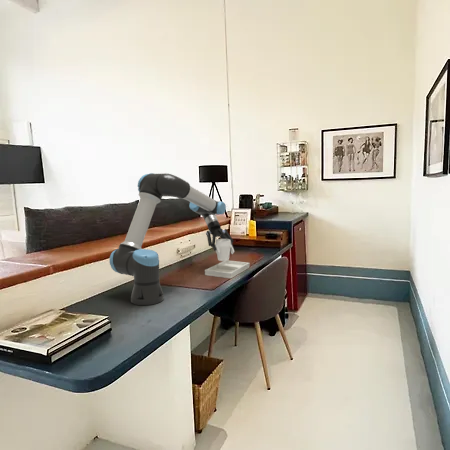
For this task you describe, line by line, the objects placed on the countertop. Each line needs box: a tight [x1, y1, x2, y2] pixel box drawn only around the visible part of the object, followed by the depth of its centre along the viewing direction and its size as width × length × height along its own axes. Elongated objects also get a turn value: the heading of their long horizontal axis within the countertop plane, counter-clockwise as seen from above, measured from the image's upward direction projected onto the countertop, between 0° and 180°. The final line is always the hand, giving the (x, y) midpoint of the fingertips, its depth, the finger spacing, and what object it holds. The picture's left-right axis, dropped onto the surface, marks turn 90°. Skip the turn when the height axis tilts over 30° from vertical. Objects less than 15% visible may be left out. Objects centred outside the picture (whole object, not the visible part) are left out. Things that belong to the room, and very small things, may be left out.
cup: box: [215, 238, 231, 262], centre depth 211 cm, size 9×9×12 cm
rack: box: [204, 260, 250, 279], centre depth 219 cm, size 28×17×3 cm, turn 154°
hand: (226, 253), depth 209 cm, fingers closed on cup, 9 cm apart
